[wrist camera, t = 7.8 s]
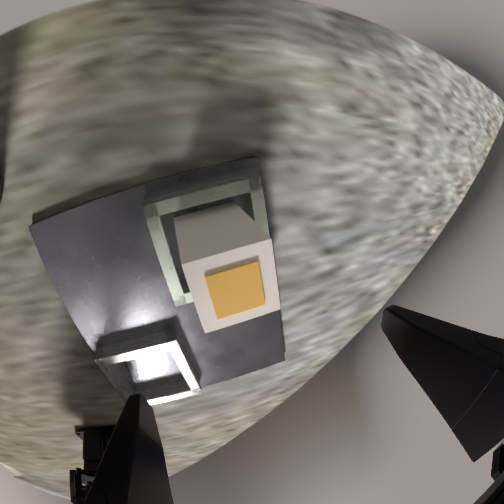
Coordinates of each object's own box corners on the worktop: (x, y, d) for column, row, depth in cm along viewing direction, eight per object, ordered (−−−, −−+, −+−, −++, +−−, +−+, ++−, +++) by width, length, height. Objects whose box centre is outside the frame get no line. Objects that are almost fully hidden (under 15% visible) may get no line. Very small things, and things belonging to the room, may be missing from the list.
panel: (282, 356, 26) (290, 370, 25) (131, 398, 23) (132, 414, 21) (255, 156, 18) (266, 159, 16) (31, 223, 14) (20, 234, 13)
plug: (244, 255, 20) (282, 311, 14) (189, 271, 19) (205, 336, 13) (234, 201, 18) (273, 240, 12) (173, 217, 17) (181, 266, 11)
